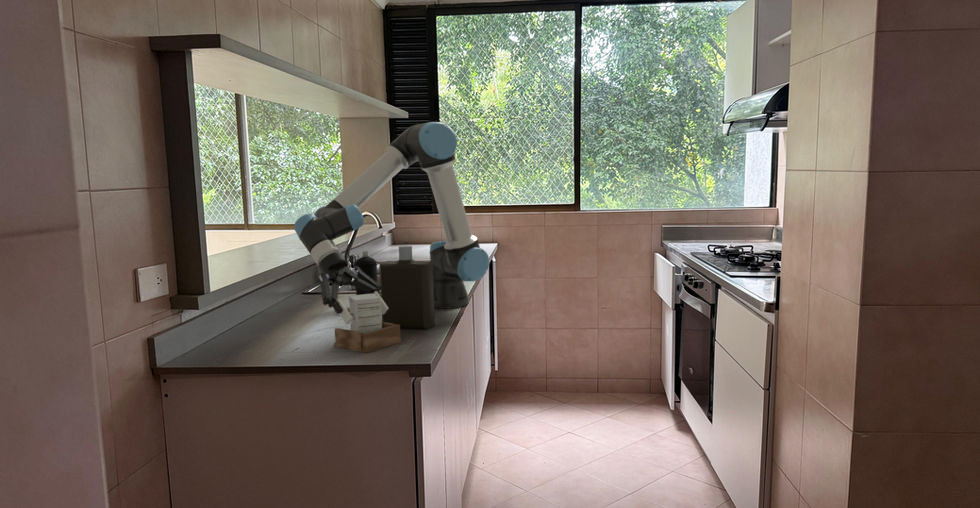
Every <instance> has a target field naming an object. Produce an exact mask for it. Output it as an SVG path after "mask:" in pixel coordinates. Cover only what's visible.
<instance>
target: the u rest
mask: <svg viewBox="0 0 980 508" xmlns="http://www.w3.org/2000/svg"><path fill="white" fill-rule="evenodd" d="M401 339H402V338H401V328H400V325H398V324H396V325H395V324H392V323H387V322H382V329H379V330H375V331H371V332H368V333H362V332H357V331H351V329H345V328H341V327H340V328H339V327H336V328H334V341H335V342H333V347H337V348H342V349H346V350H351V351H355V352H359V353H365V354H369V353H371V352H374V351H377V350H380V349H383V348H386V347H390V346H393V345H396V344H398V343H399V344H400V343H401Z"/></svg>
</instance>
